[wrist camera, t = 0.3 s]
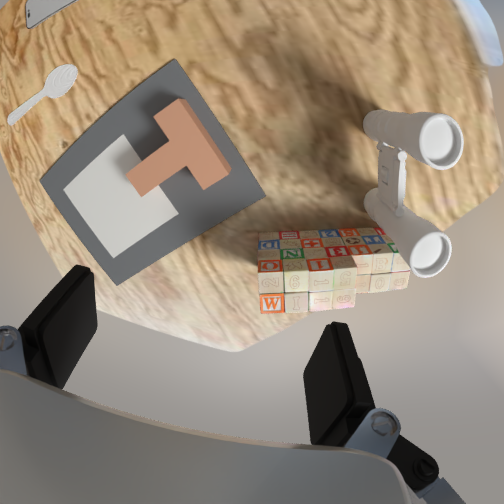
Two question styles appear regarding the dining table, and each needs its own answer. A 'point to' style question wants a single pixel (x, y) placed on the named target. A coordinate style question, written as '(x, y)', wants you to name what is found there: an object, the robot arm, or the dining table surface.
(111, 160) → the mat
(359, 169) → the dining table surface
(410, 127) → the binoculars
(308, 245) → the stack of blocks
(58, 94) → the spoon
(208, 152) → the t block
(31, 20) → the smartphone
